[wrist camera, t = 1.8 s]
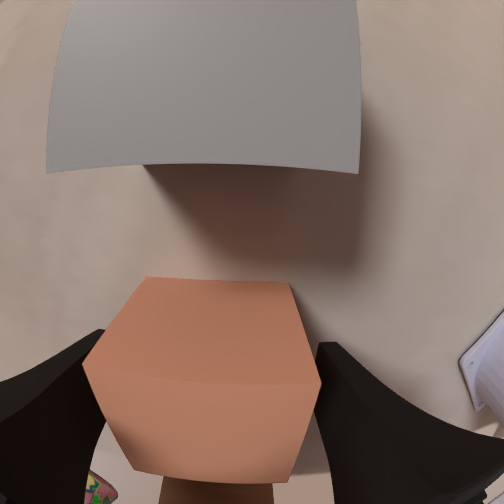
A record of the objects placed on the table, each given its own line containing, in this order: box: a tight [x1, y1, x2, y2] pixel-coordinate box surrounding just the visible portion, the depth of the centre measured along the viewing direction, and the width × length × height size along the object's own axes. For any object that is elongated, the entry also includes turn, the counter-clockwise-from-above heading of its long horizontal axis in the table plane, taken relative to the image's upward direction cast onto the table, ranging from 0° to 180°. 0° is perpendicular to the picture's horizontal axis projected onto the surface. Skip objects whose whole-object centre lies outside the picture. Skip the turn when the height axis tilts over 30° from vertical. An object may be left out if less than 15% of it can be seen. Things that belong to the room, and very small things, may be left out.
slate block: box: [46, 0, 362, 174], centre depth 5 cm, size 5×5×5 cm
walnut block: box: [159, 476, 274, 504], centre depth 11 cm, size 5×5×5 cm
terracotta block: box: [82, 277, 321, 484], centre depth 8 cm, size 5×5×5 cm
